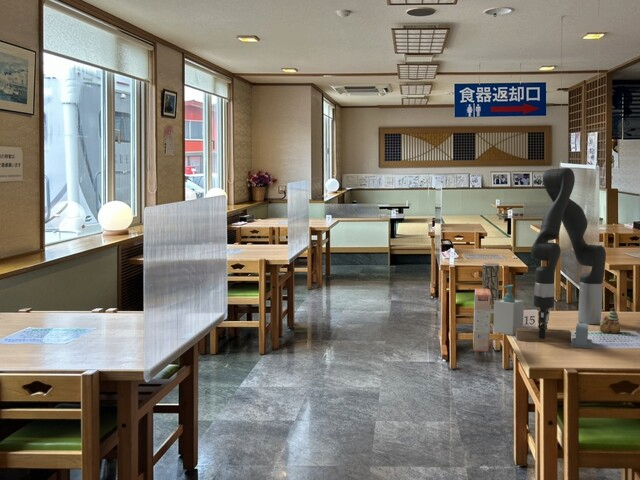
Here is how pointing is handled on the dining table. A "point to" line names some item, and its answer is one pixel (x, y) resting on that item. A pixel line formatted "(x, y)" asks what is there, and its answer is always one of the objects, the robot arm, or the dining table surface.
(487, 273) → the bark textured block
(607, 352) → the dining table surface
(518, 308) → the soap bottle
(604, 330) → the ornament
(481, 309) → the cracker box
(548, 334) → the walnut bar
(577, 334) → the fulcrum ridge
